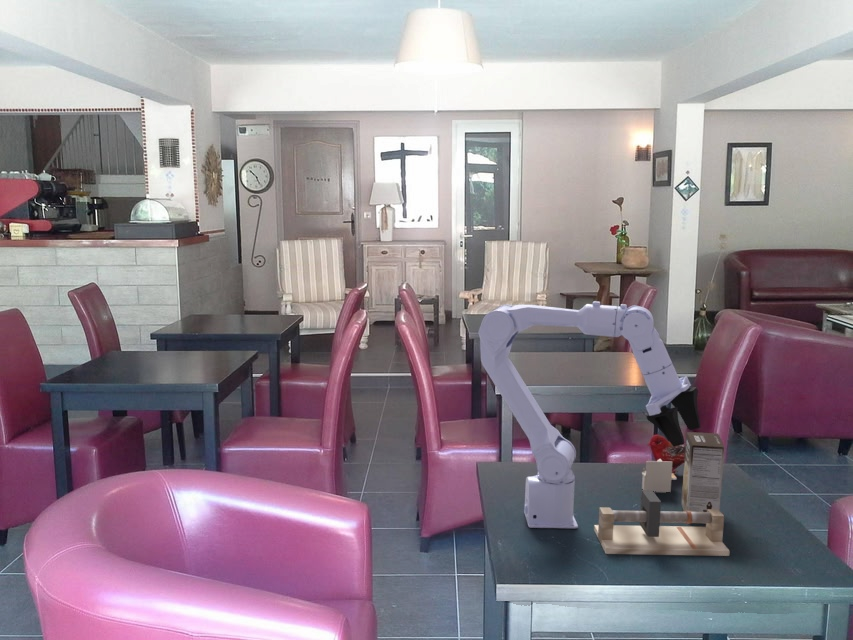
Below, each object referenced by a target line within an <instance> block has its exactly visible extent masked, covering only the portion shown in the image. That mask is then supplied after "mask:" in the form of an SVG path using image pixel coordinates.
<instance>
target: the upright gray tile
mask: <svg viewBox="0 0 853 640" xmlns="http://www.w3.org/2000/svg"><path fill="white" fill-rule="evenodd" d="M640 498H641V499H640V511H647V522H639V526H641V527H642V529H643V530H644V532H645V533H646V535H647V536H648V537H659V526H661V525H660V523H661V522H660V511H662V509H661V508H662V501H661V499H659V497H658V496H657V495H656V492H653V491H652V490H641V496H640Z"/></svg>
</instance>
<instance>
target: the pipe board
mask: <svg viewBox="0 0 853 640" xmlns="http://www.w3.org/2000/svg"><path fill="white" fill-rule="evenodd" d="M598 511H599V512H598V524H594V525H593V531H594V533H595V535H596V537H597V539H598V541H599V543H600V545H601V547H602V549H603V551H604V553H605V554H607V555H650V556H651V555H652V556H653V555H657V556H705V557H706V556H707V557H708V556H712V557H713V556H715V557H718V556H719V557H721V556H722V557H723V556H724V557H730V549H729V548H728V547H727V546H726V545H725V543H724V542H723V537H724V536H723V534H724V523H725V515H724V514H723V513H722V512H721V510H720V511H719V510H718V509H707V512H691V511H685V512H684V511H672V510H670V511H666V510H663V511H662V510H661V511H660V523H666V524H667V523H669V524H670V523H673V524H677V523H678V524H681V523H682V524H683V523H684V524H687V525H688V524H690V525H691V524H702V523H706V524H705V526H686V525H685V526H682V525H681V526H680V525H679V526H677V525H676V526H675V525H673V526H671V525H660V526H659V537H648V536H647V535H646V533H645V532H644V530H643V529H642V527H641V526H640V525H626V524H625V525H619V524H618V525H617V524H616V525H615V524H614V522H619V523H621V522H622V523H640V522H647V511H641V510H618V509H617V510H614V509H612V507H605V506H604V507H599V509H598Z"/></svg>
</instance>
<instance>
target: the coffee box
mask: <svg viewBox="0 0 853 640" xmlns="http://www.w3.org/2000/svg"><path fill="white" fill-rule="evenodd" d="M684 446H685V459H684V463H683V475H682V476H683V478H682V489H681V490H682V492H681V507H682V512H685V511H691V512H707V509H718V510H719V511H720V512H721V498H722V497H721V496H722V486H723V485H722V484H723V475H724V463H725V462H724V461H725V451H726V446H725V445H724V443H723V441H722V439H721V437H720V435H719V433H715V432H714V433H713V432H712V433H711V432H709V433H708V432H695V431H694V432H693V431H686V433H685V445H684ZM702 524H703V525H704V524H705V525H706V523H701V525H702Z"/></svg>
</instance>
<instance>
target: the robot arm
mask: <svg viewBox="0 0 853 640" xmlns="http://www.w3.org/2000/svg"><path fill="white" fill-rule="evenodd" d="M627 306H628V305H627V304H624V303H621V304H620V306H618V305H606V304H601V301H597V300H594V301H593V302H592V303H586V304H585V305H583V307H582V308H580V309H573V308H572V309H571V308H563V307H562V308H561V307H555V306H546V305H537V304H536V305H535V304H514V305H511V304H503V305H501V306H499V307H497V308H495V310H491V311H489V312H488V313H486V314H485V316H484V317H483V318H482V321H481V324H480V326H479V328H478V332H477V333H478V336H479V349H480V361H481V364H482V367H483V369H485V371H486V373H487V375H488V376H489V378H490V379H491V381H492V382H493V384H494V386H495V387H496V389H497V390H498V392H499V394H500V395H501V397H502V398H503V400H504V402H505V403H506V405H507V407H508V408H509V410H510V412H511V413H512V415H513V417H514V418H515V419H516V422H518V425H519V426H520V427H521V429H522V430H523V433H524V434H525V436H526V437H527V438H528V441H529V445H530V450H531V454H532V456H533V457H534V460H535V463H536V469H537V474H536V475H533V476H526V478H525V489H524V491H525V492H524V506H523V507H524V508H523V513H524V516H525V520H526V523H527V526H528V528H529V529H530V528H531V529H532V528H533V529H534V528H535V529H536V528H537V529H578V528H579V526H578V523H577V521H576V518H575V516H574V502H575V499H574V498H575V483H576V482H575V478H576V476H575V474H574V472H573V469H572V465H573V464H574V463H575V460H576V457H577V456H576V455H577V451H576V448H575V446H574V444H573V443H572V442H571V441H570V440H568V439H566V438H565V437H563V435H562V434H561V433H560V430H558V429H557V428H556V427H554V426H553V425H552V424H551V423H550V421H549V419H548V418H547V417H546V415H545V413H544V412H543V409H541V407H540V406H539V403H538V402H537V400H536V399H535V398H534V396H533V394H532V393H531V391H530V389H529V388H528V386H527V385H526V383H525V381H524V380H523V378H522V376H521V374H520V373H519V372H518V370H517V368H516V366H514V364H513V362H512V360H511V359H510V358H509V357H510V352H511V349H512V345H513V341H515V339H516V337H517V335H518V334H519V333H521V332H524V331H525V330H527V329H529V328H531V327H533V326H549V327H550V326H552V327H571V328H573V327H574V328H578V329H579V330H580V332H582V334H584V335H589V336H599V337H601V336H602V337H610V338H611V337H612V338H619V337H620V336H622V337H623V338H624V339H626V340H627V341H628V343H629V345H630V347H631V349H632V355H633V356H634V359H635V362H636V363H637V366H638V368H639V370H640V373H641V375H642V377H643V379H644V382H645V385H646V386H647V388H648V390H649V393H650V395H651V396H650V398H649V399H648V400H649V401H648V402H647V404H645V408H646V411H647V414H645V418H646V419H647V421H648V422H649V423H651V424H653V426H655V427H656V428H657V429H658V430H660V432H661V433H662V434H663V435H664V436H665V438H666V439H667V441H669V442H670V443H671V444H672V445H673V446H679V445H684V444H685V439H684V435H683V432H682V428H681V426H680V421H679V415H680V418H681V419H682V421H683V422H684V425H685V426H686V427H687V429H688V430H689V431H692V430H696V429H700V428H701V421H700V416H699V408H698V394H699V390H698V387H696V386H693V387H691V386H692V384H691V382H690V380H689V378H688V376H686V375H685V376H683V377H679V375H678V373H677V371H676V368H675V366H674V364H673V362H672V360H671V357H670V355H669V353H668V350H667V348H666V346H665V343H664V341H663V340H662V339H661V337H660V334H659V332H658V330H657V329H656V327H654V326H655V325H654V321H655V320H654V317H653V314H652V312H651V311H650V310H649V309H648V308H645V307H644V306H639V305H637V304H634V305H631V306H629V307H627ZM669 403H670V404H671V405H672V406H673V407H671V408H669V407H667V405H668V404H669Z"/></svg>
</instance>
